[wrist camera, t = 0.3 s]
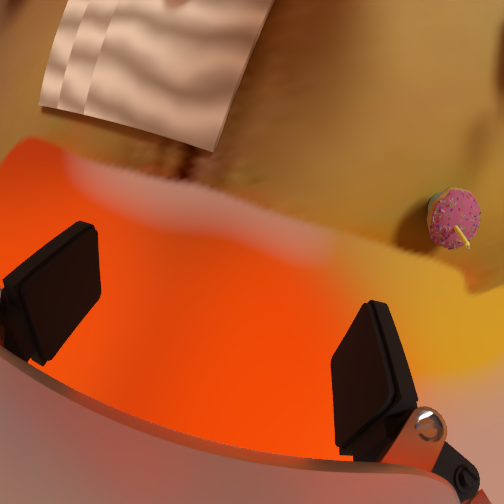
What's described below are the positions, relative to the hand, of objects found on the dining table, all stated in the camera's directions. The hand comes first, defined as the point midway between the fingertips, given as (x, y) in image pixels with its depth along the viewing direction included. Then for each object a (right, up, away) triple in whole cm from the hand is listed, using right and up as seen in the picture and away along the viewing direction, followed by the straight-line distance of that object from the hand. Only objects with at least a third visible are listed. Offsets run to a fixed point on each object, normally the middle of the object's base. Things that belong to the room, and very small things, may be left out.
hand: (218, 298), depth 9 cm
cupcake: (+28, +8, +26) cm, 39 cm away
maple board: (-13, +33, +19) cm, 40 cm away
